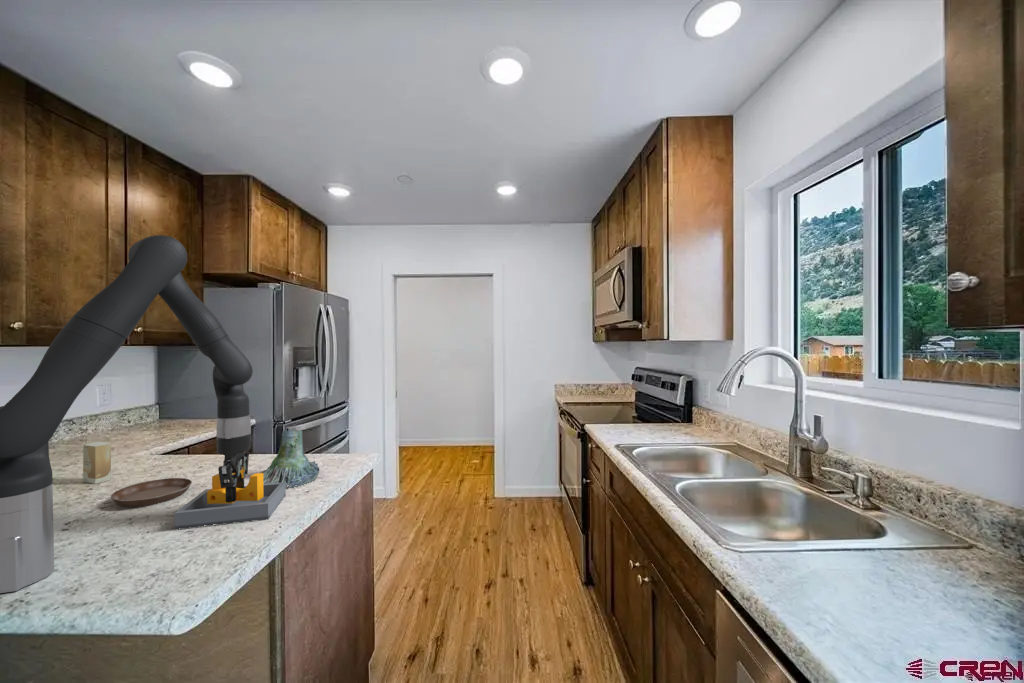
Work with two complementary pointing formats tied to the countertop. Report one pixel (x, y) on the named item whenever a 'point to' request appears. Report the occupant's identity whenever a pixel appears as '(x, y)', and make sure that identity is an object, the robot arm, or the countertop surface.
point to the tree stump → (291, 463)
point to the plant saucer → (151, 492)
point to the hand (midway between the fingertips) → (235, 497)
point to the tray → (230, 509)
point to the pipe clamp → (242, 494)
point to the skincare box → (96, 462)
